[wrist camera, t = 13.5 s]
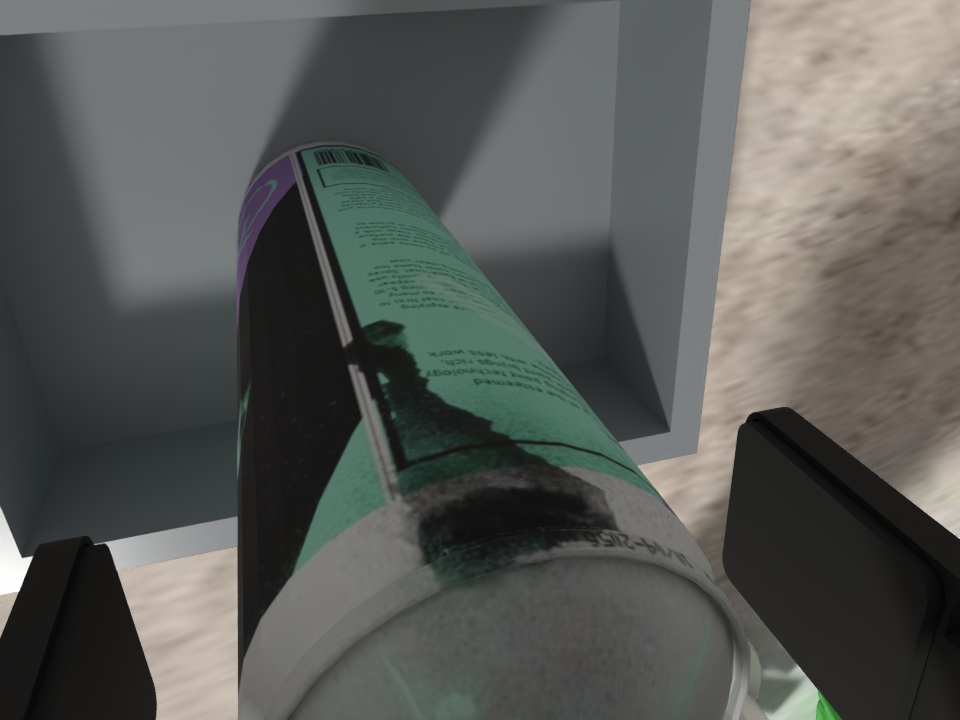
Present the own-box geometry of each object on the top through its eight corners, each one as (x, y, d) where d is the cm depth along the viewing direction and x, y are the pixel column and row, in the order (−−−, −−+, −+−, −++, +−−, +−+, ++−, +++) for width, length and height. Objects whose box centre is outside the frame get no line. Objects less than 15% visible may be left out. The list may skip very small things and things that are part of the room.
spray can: (197, 196, 21) (41, 1147, 4) (370, 104, 21) (901, 656, 4) (299, 347, 24) (453, 1279, 7) (451, 264, 24) (963, 979, 7)
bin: (639, -52, 22) (757, -56, 17) (616, 366, 29) (696, 452, 24) (-137, -21, 18) (-286, -14, 13) (42, 464, 25) (-9, 596, 19)
